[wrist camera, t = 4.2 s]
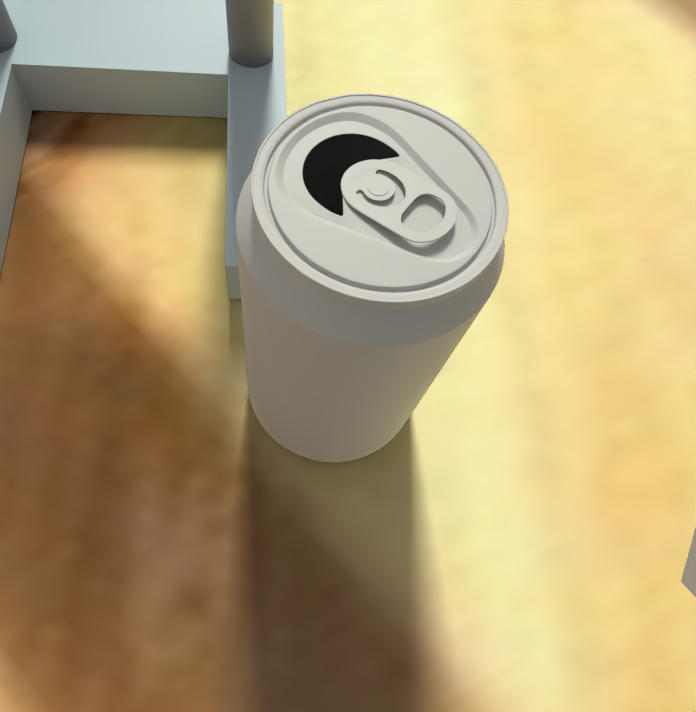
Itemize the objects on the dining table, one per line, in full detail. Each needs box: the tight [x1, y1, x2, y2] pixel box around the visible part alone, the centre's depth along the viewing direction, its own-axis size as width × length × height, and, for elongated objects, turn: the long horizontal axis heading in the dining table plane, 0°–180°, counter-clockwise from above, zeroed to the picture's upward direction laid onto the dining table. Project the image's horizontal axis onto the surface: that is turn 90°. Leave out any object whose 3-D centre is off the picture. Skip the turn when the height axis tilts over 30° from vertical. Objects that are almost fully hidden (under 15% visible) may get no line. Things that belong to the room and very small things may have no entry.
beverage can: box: [236, 94, 508, 462], centre depth 18 cm, size 6×6×12 cm
